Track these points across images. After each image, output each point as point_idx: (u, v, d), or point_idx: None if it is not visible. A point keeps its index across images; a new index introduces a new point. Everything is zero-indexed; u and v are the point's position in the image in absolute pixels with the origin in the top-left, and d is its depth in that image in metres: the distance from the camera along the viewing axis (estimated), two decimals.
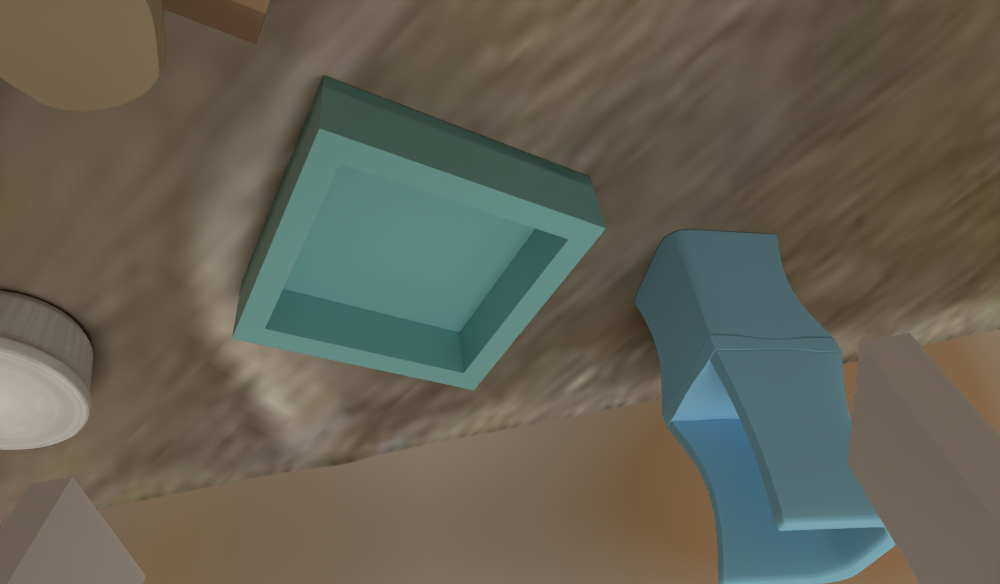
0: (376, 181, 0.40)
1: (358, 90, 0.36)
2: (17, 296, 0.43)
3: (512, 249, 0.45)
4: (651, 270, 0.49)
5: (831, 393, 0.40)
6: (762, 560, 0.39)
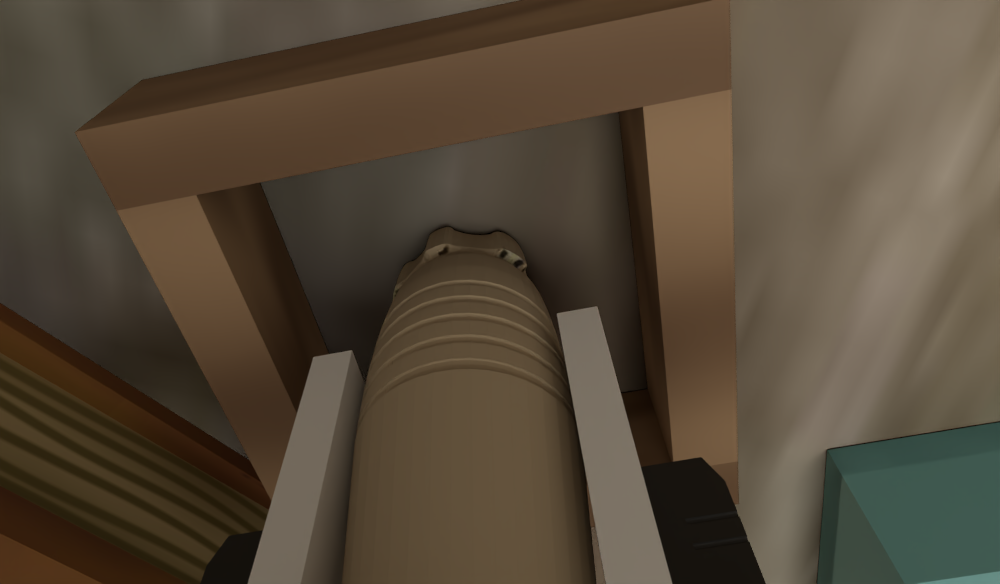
0: None
1: (891, 444, 0.21)
2: None
3: None
4: None
5: None
6: None
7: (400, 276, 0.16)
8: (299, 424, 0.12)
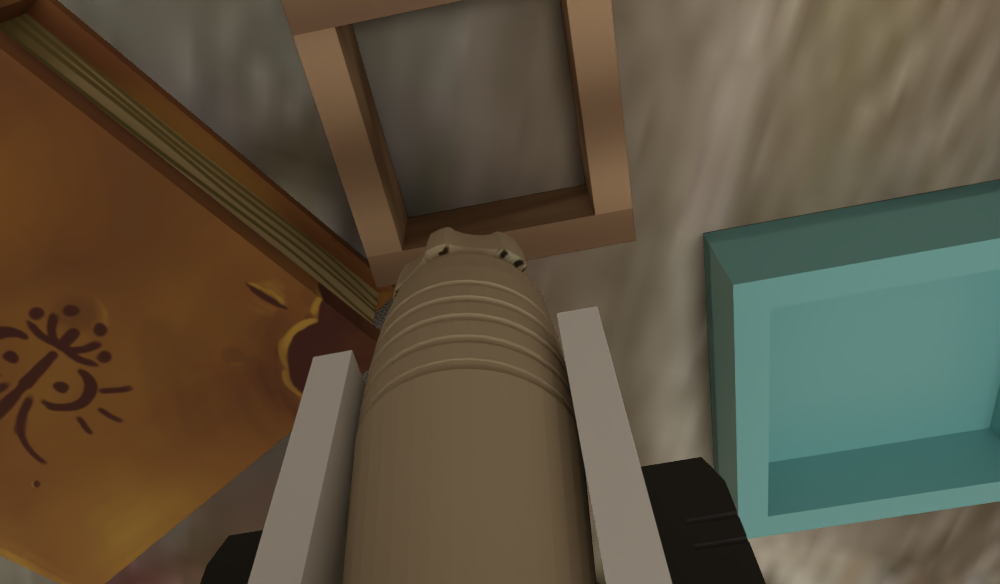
0: (807, 307, 0.34)
1: (743, 227, 0.33)
2: None
3: None
4: None
5: None
6: None
7: (400, 276, 0.16)
8: (299, 424, 0.12)
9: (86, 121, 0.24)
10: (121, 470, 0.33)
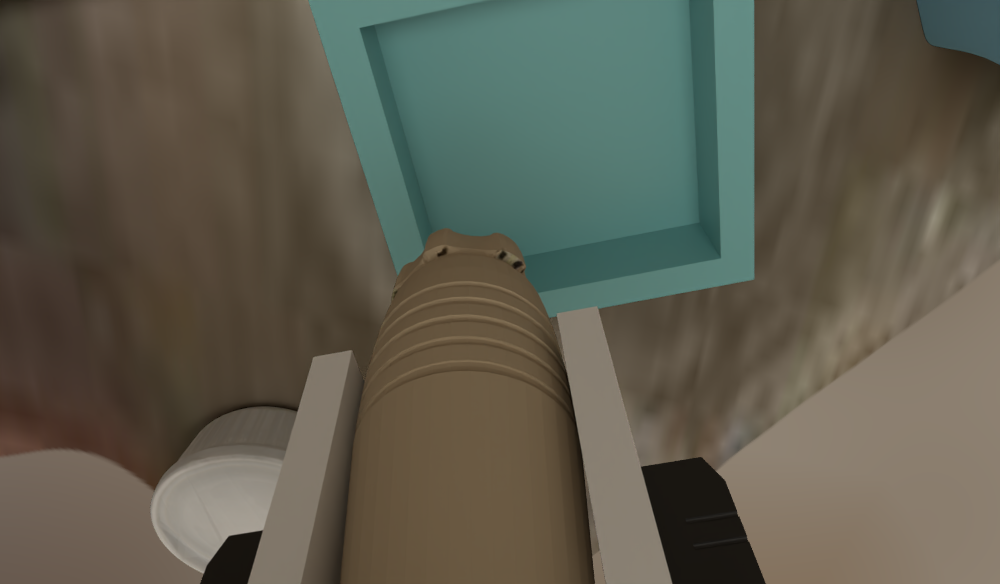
0: (456, 62, 0.31)
1: None
2: (245, 409, 0.42)
3: (681, 56, 0.31)
4: None
5: None
6: None
7: (399, 277, 0.16)
8: (299, 424, 0.12)
9: None
10: None
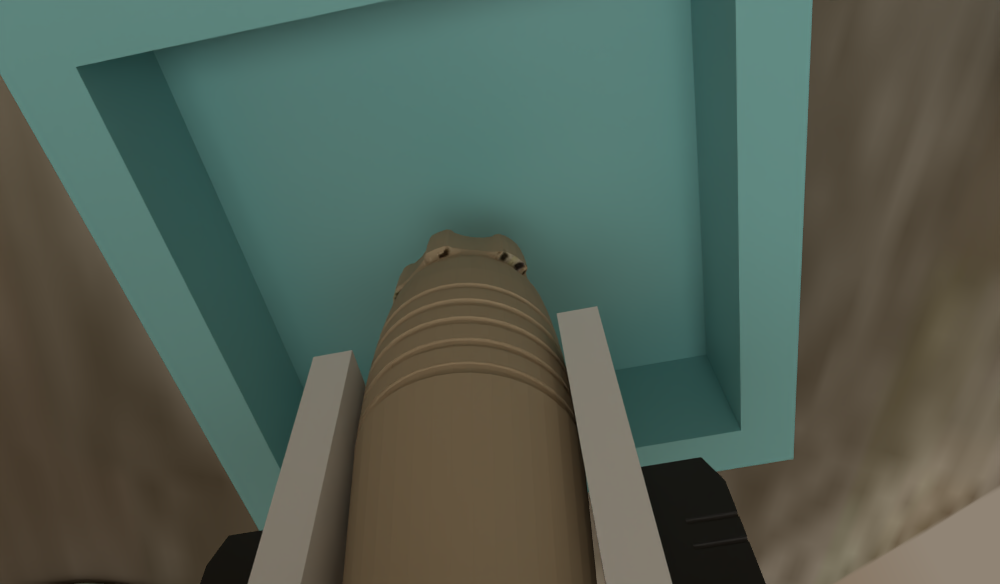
0: (303, 117, 0.19)
1: None
2: None
3: (677, 108, 0.19)
4: None
5: None
6: None
7: (400, 279, 0.16)
8: (299, 424, 0.12)
9: None
10: None
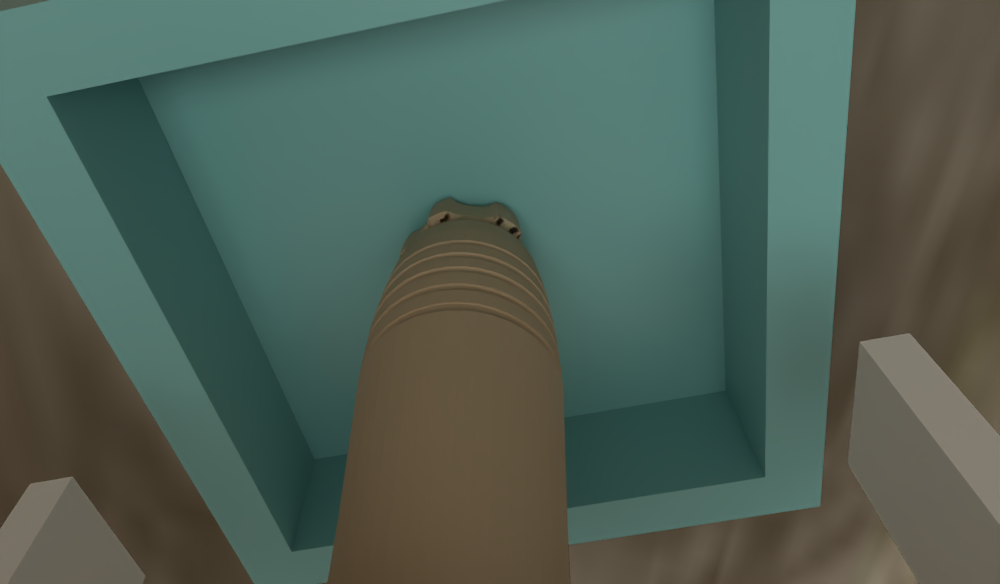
0: (298, 144, 0.17)
1: None
2: None
3: (699, 134, 0.18)
4: None
5: None
6: None
7: (405, 243, 0.18)
8: None
9: None
10: None
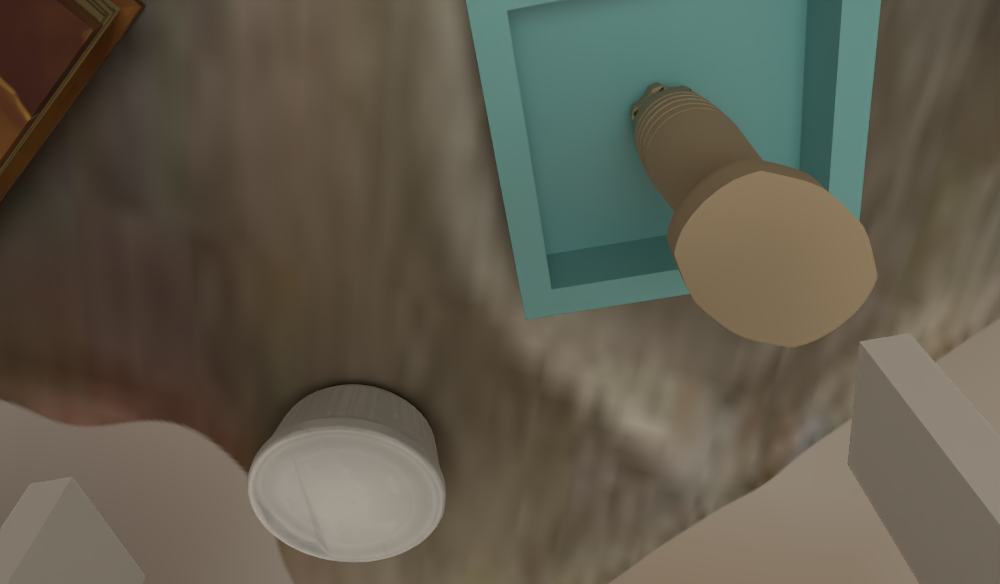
0: (581, 50, 0.33)
1: None
2: (339, 386, 0.43)
3: (794, 50, 0.33)
4: None
5: None
6: None
7: (634, 106, 0.33)
8: None
9: None
10: None
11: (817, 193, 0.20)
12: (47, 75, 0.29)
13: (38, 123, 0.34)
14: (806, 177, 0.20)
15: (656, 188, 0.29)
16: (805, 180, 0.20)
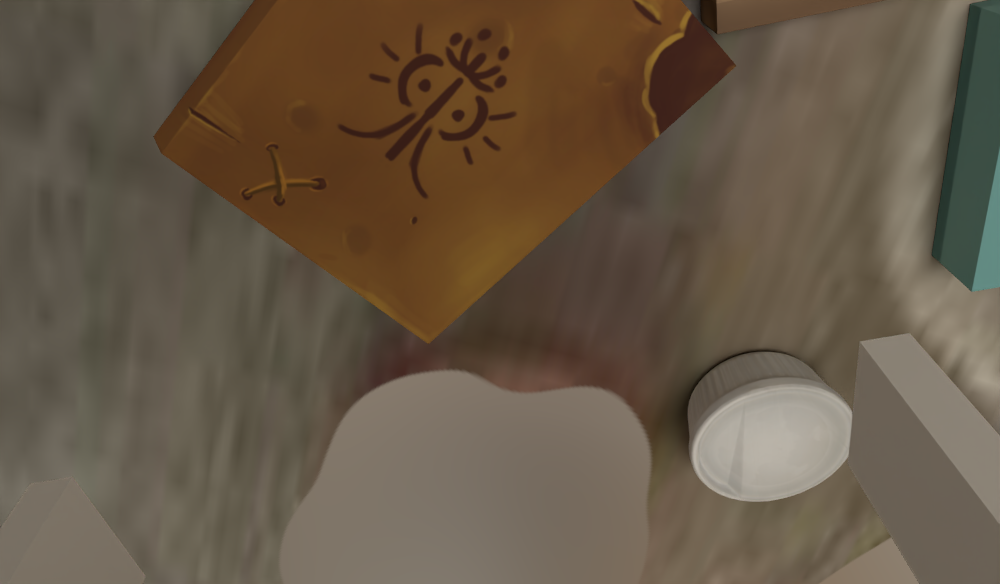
0: None
1: None
2: (755, 353, 0.51)
3: None
4: None
5: None
6: None
7: None
8: None
9: None
10: (487, 202, 0.39)
11: None
12: (686, 102, 0.36)
13: None
14: None
15: None
16: None
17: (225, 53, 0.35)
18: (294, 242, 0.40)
